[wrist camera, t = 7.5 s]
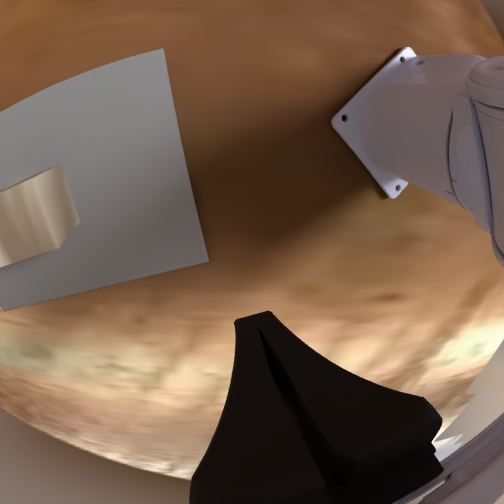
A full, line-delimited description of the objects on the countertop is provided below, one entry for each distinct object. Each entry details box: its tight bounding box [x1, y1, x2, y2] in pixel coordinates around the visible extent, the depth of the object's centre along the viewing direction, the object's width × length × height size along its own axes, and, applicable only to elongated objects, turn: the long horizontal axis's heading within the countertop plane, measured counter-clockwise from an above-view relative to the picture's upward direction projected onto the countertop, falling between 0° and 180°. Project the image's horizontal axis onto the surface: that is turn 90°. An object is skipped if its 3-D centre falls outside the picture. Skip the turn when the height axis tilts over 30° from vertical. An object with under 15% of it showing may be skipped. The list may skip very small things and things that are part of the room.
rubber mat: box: [0, 49, 209, 311], centre depth 17 cm, size 18×14×1 cm
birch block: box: [0, 163, 80, 267], centre depth 14 cm, size 4×4×9 cm
